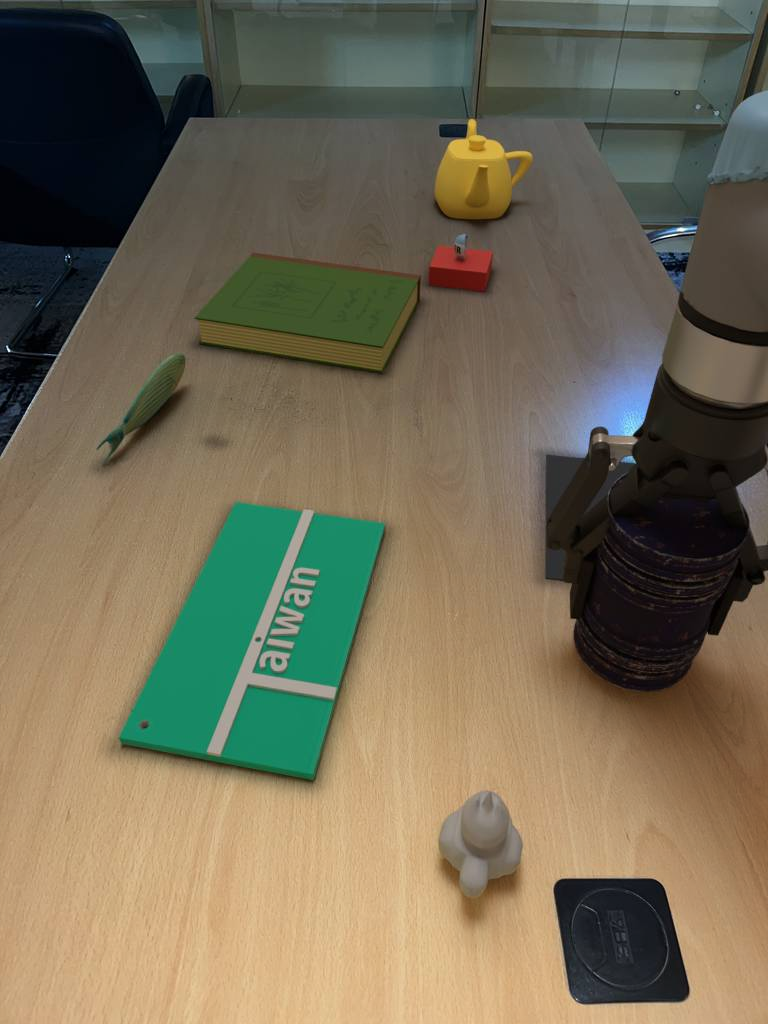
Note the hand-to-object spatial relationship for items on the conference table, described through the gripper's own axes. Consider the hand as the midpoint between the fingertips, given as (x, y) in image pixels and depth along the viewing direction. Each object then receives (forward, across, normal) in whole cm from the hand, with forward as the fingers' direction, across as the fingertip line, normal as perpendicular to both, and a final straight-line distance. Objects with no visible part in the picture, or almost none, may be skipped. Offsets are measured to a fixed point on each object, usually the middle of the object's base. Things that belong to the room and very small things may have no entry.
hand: (641, 614), depth 64 cm
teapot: (+5, +18, -91) cm, 93 cm away
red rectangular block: (+5, +19, -64) cm, 67 cm away
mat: (+5, 0, -16) cm, 17 cm away
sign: (+5, +30, +2) cm, 31 cm away
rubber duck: (+5, +11, +19) cm, 23 cm away
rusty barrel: (+4, 0, 0) cm, 4 cm away
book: (+5, +38, -49) cm, 62 cm away
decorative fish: (+5, +48, -22) cm, 53 cm away
